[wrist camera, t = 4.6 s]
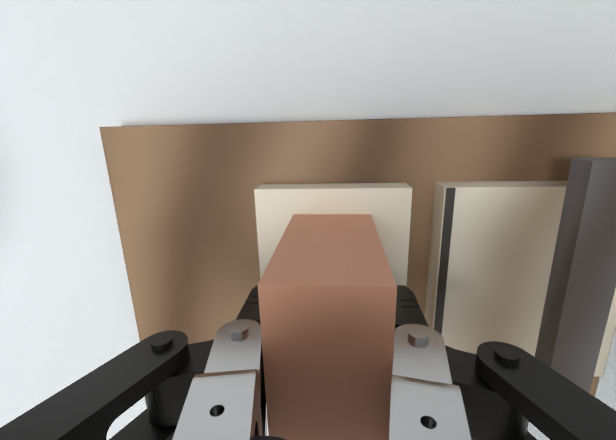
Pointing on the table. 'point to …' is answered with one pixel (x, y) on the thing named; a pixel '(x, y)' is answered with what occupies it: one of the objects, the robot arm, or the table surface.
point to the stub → (330, 305)
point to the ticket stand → (423, 224)
